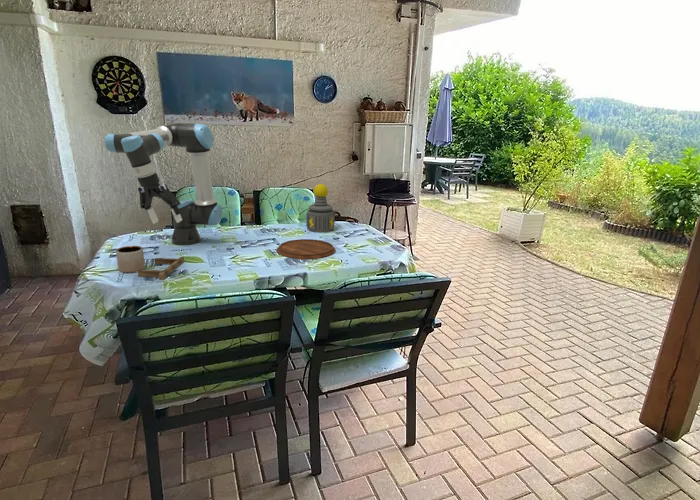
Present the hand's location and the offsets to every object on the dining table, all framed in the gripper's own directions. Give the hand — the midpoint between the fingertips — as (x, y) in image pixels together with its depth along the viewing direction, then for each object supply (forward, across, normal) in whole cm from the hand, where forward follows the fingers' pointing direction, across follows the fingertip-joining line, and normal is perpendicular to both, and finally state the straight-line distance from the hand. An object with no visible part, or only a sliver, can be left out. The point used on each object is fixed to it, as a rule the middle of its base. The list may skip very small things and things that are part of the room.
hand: (167, 222), depth 171 cm
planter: (+19, -23, -9) cm, 31 cm away
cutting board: (+43, +32, +50) cm, 74 cm away
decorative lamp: (+53, +18, +95) cm, 110 cm away
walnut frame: (+22, -11, -5) cm, 25 cm away
